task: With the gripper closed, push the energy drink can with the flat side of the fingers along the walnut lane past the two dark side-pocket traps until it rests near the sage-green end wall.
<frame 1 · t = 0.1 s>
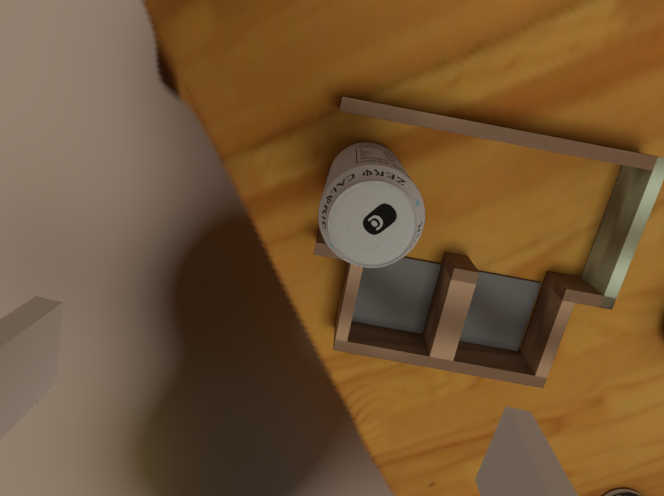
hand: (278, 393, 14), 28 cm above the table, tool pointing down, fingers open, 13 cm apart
energy drink can: (365, 177, 40), on the table
trap lane: (483, 200, 40), on the table
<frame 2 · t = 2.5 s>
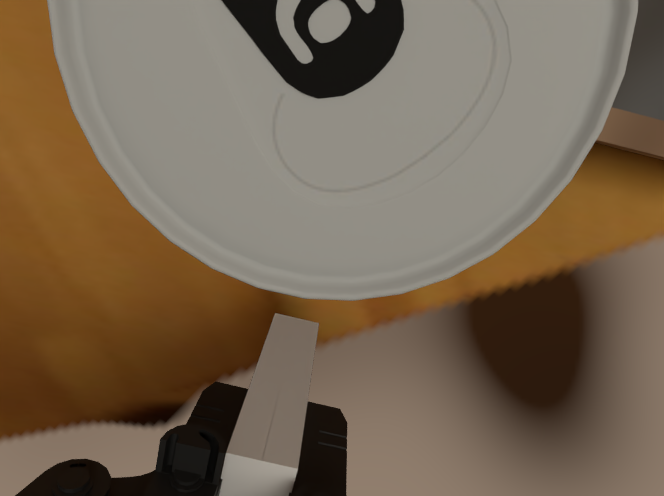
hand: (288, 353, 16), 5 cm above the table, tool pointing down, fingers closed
energy drink can: (343, 78, 18), on the table
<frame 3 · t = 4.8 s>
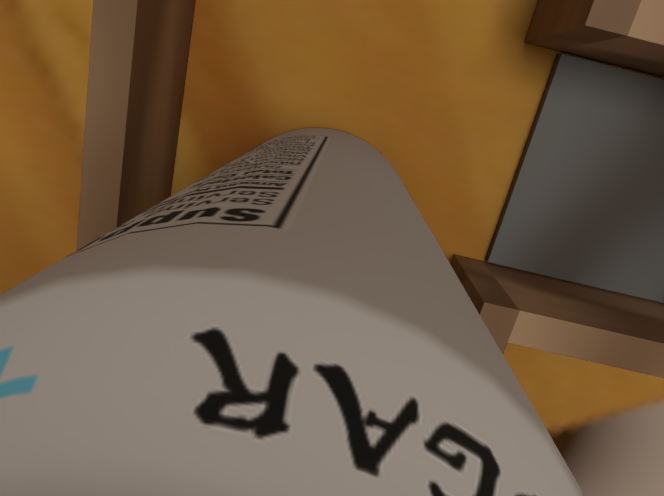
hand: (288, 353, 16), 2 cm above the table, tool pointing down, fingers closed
energy drink can: (319, 214, 17), on the table, touching gripper
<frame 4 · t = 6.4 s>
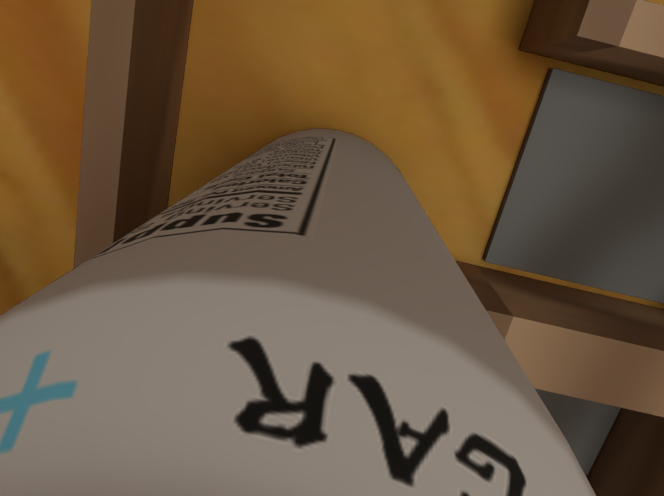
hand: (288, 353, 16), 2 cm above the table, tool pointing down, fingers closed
energy drink can: (322, 215, 17), on the table, touching gripper
trap lane: (310, 227, 17), on the table
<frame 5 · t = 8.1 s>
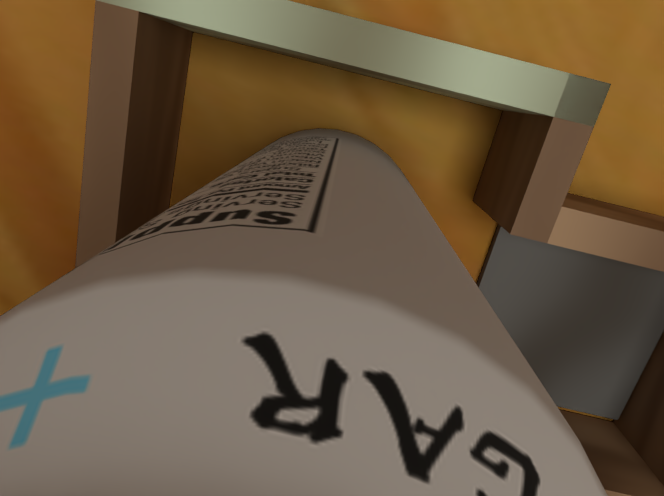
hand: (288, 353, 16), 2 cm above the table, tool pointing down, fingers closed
energy drink can: (324, 215, 17), on the table, touching gripper
trap lane: (285, 346, 18), on the table
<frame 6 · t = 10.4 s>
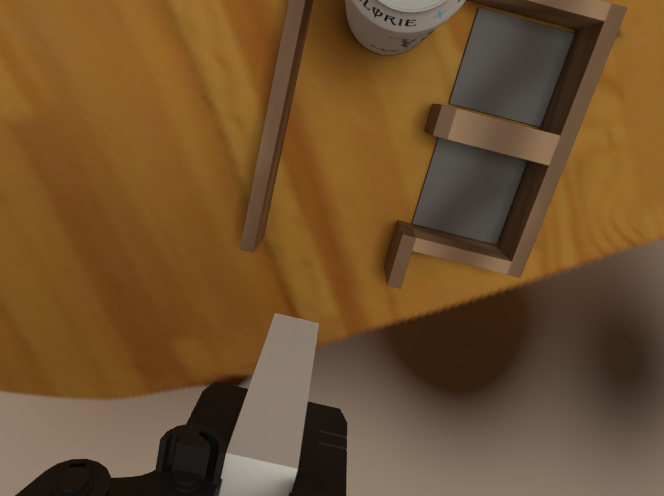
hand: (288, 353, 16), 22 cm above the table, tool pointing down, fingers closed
energy drink can: (389, 9, 33), on the table
trap lane: (366, 86, 35), on the table
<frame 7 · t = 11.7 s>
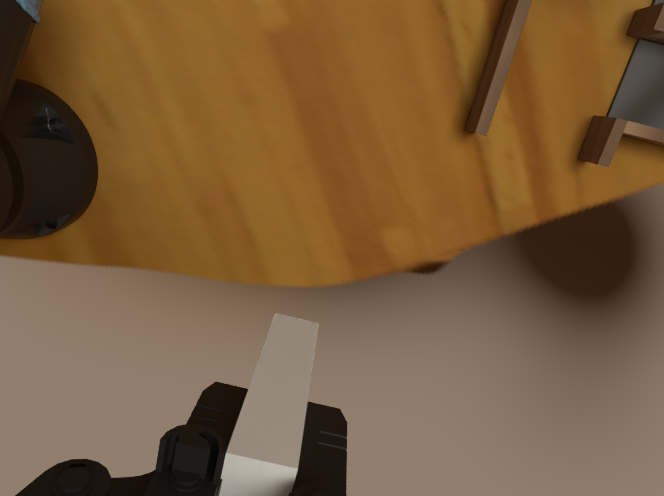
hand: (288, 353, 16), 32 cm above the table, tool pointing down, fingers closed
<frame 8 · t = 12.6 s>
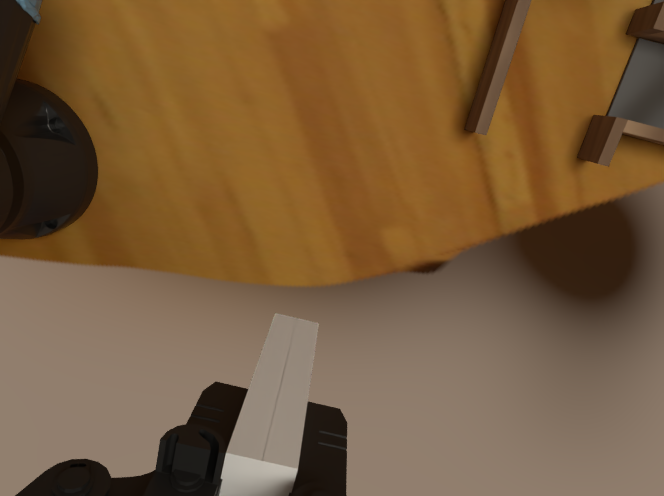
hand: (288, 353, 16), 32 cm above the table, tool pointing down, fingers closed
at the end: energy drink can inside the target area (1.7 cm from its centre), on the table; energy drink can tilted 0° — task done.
